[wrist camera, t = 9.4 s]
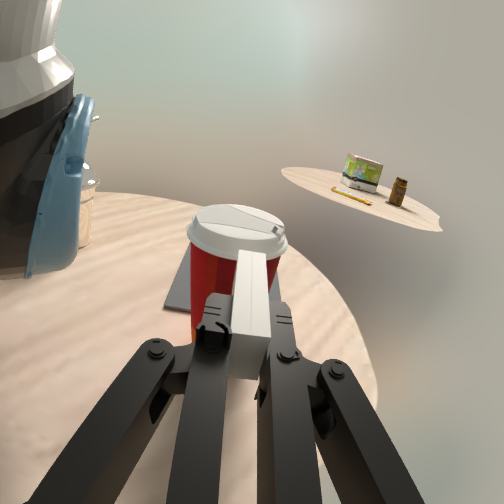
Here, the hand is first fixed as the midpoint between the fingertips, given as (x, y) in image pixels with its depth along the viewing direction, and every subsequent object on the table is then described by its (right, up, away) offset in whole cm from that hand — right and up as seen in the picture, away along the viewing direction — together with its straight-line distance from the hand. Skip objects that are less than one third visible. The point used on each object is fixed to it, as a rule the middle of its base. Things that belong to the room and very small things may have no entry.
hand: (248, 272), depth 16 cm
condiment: (+61, +21, +93) cm, 113 cm away
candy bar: (+37, +21, +85) cm, 95 cm away
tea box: (+50, +31, +108) cm, 123 cm away
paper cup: (-3, -9, +11) cm, 14 cm away
